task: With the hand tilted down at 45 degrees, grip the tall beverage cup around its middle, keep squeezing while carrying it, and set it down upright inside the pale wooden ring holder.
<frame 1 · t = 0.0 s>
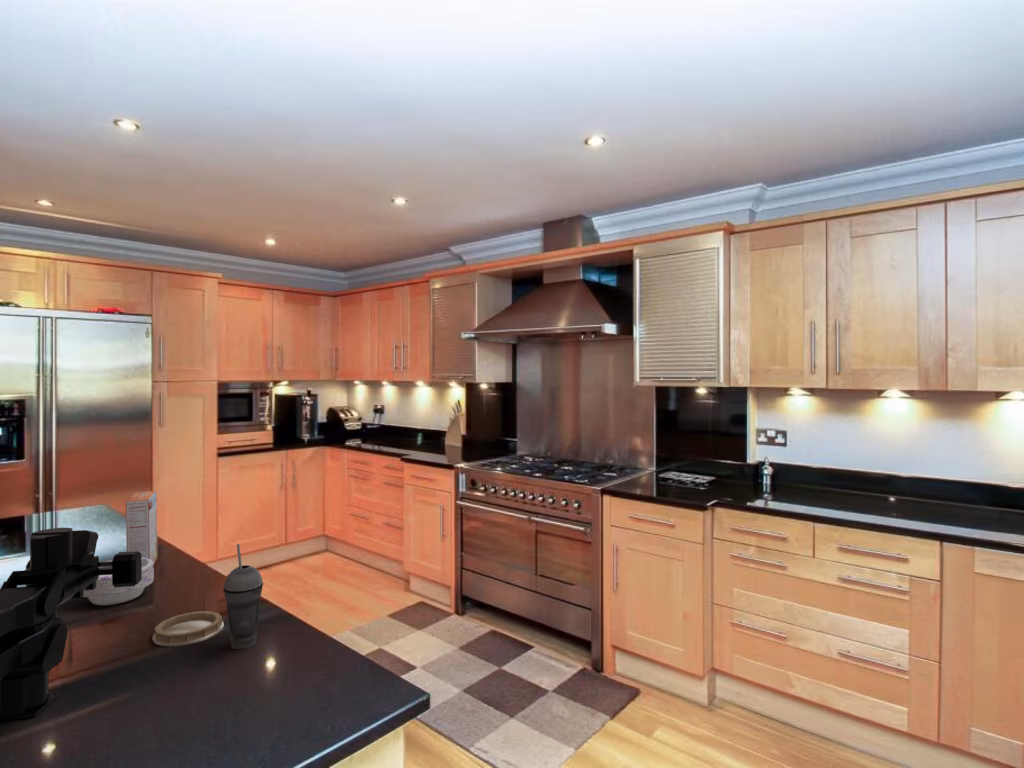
hand: (108, 558, 116), 17 cm above the counter, tool horizontal, fingers open, 9 cm apart
ring holder: (189, 632, 119), on the counter
paper bowls: (117, 599, 138), on the counter
white cardboard box: (142, 568, 162), on the counter
beverage cup: (243, 645, 113), on the counter
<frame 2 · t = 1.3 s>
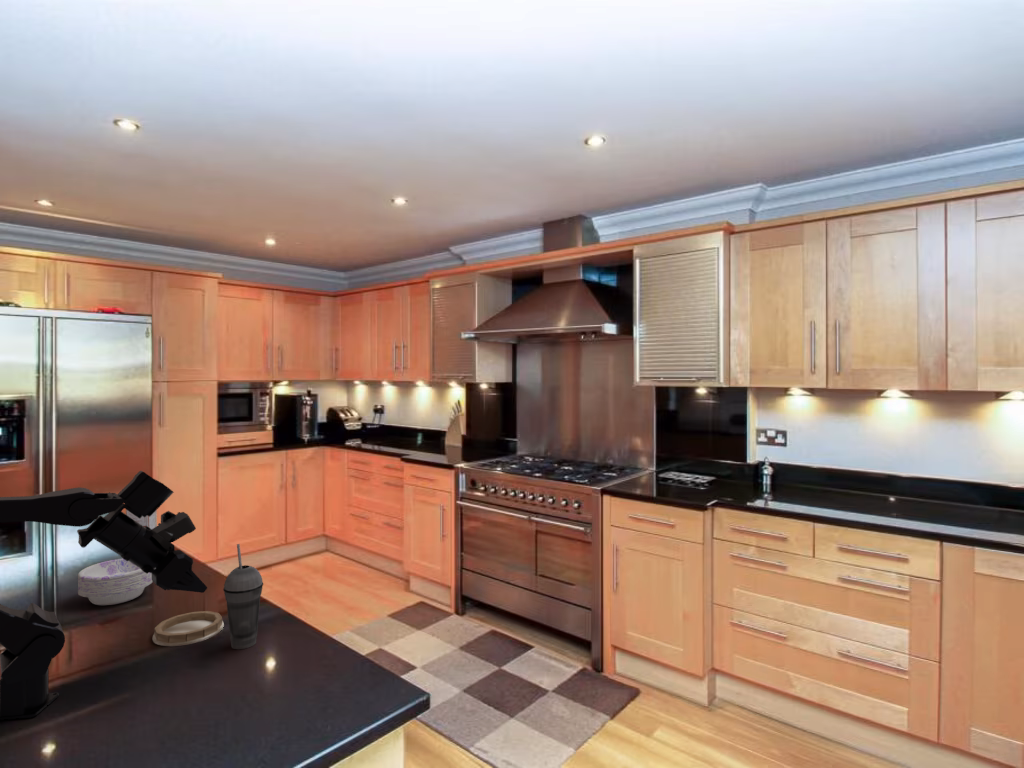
hand: (198, 583, 108), 14 cm above the counter, tool tilted 45°, fingers open, 9 cm apart
nothing on the counter moved.
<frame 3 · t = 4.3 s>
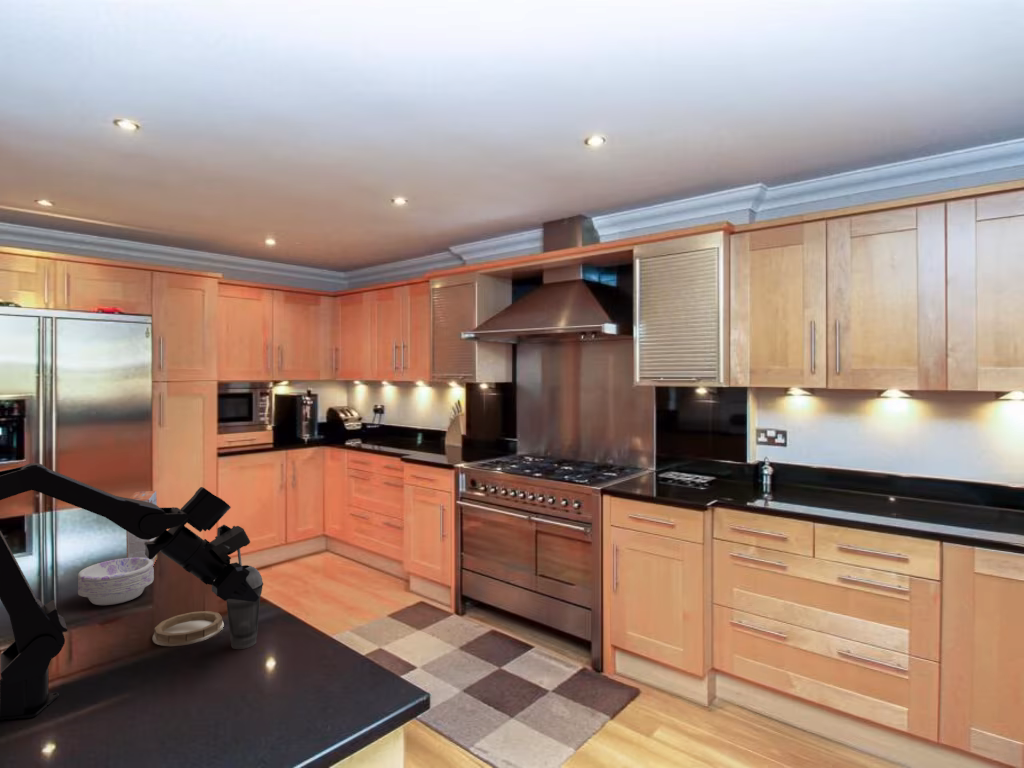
hand: (250, 594, 114), 10 cm above the counter, tool tilted 45°, fingers closed on beverage cup, 7 cm apart
beverage cup: (243, 645, 113), on the counter, touching gripper
everything else where it was.
when the fingers open (11 cm above the counter, at t = 8.3 s): beverage cup stays where it is, resting on ring holder.
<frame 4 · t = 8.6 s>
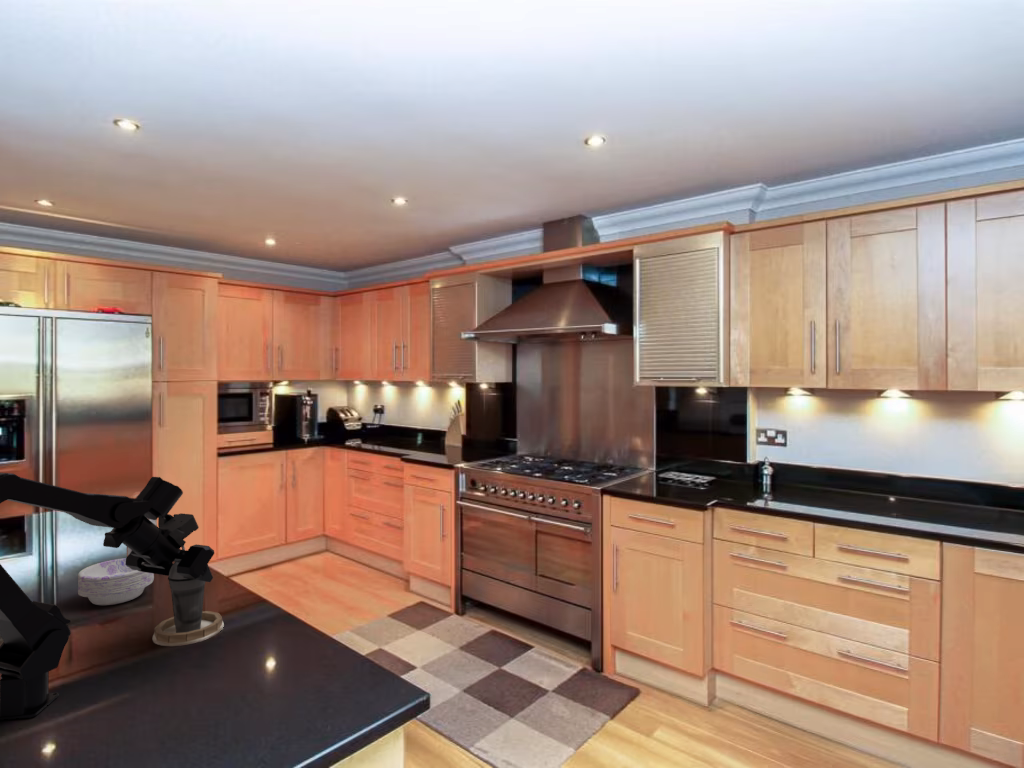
hand: (194, 577, 120), 11 cm above the counter, tool tilted 45°, fingers open, 9 cm apart
beverage cup: (188, 630, 119), resting on ring holder
everything else where it was.
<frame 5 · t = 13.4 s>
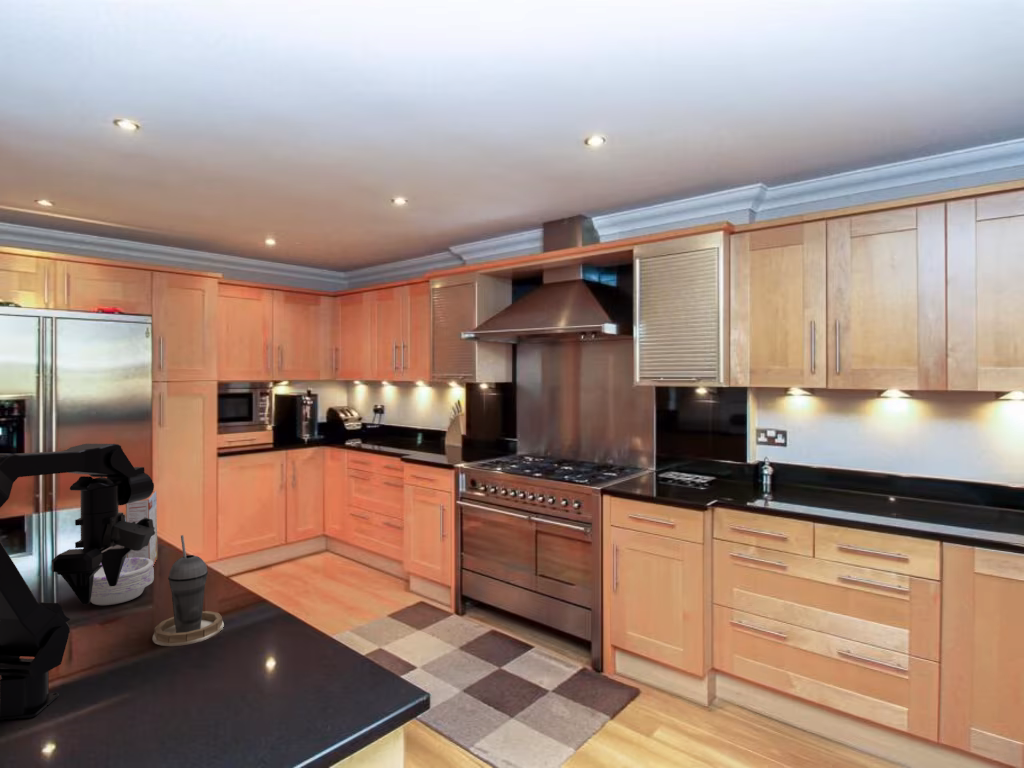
hand: (100, 594, 105), 13 cm above the counter, tool pointing down, fingers open, 9 cm apart
nothing on the counter moved.
at the end: beverage cup 0.2 cm from the ring holder (horizontally); beverage cup tilted 0°; the gripper is holding nothing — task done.
